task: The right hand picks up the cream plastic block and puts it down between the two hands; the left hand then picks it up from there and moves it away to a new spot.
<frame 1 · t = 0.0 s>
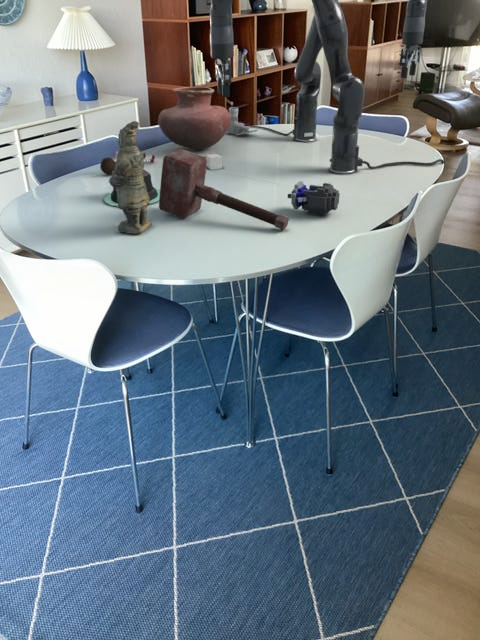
left hand: (407, 76, 218), 29 cm above the table, tool pointing down, fingers open, 8 cm apart
right hand: (223, 95, 187), 29 cm above the table, tool pointing down, fingers open, 8 cm apart
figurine: (128, 169, 219), on the table
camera: (240, 134, 268), on the table
statue: (134, 229, 162), on the table
toy: (312, 213, 171), on the table
sledgehammer: (224, 220, 166), on the table
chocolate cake: (134, 197, 187), on the table
block: (214, 167, 218), on the table
clay pot: (196, 149, 244), on the table
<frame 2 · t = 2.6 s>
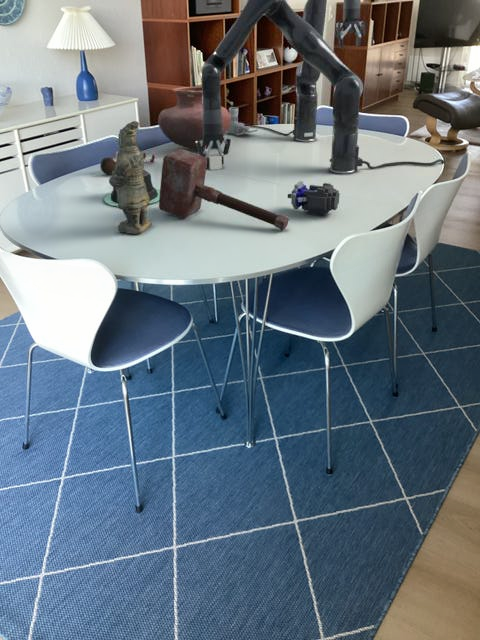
left hand: (349, 47, 259), 36 cm above the table, tool pointing down, fingers open, 8 cm apart
right hand: (214, 166, 218), 0 cm above the table, tool pointing down, fingers closed on block, 4 cm apart
block: (214, 167, 218), on the table, touching right hand
everything else where it was.
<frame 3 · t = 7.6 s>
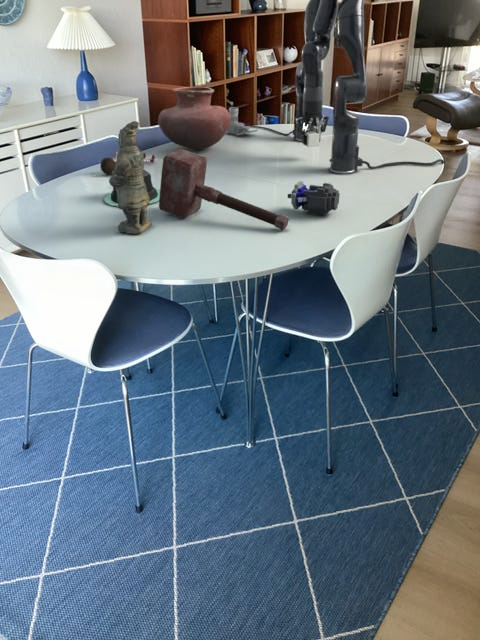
left hand: (347, 47, 260), 36 cm above the table, tool pointing down, fingers open, 8 cm apart
right hand: (310, 143, 222), 6 cm above the table, tool pointing down, fingers closed on block, 4 cm apart
block: (310, 145, 222), point 6 cm above the table, touching right hand
everything else where it was.
when the right hand's fingers open (1 cm above the table, at t = 12.8 s): block stays where it is, on the table.
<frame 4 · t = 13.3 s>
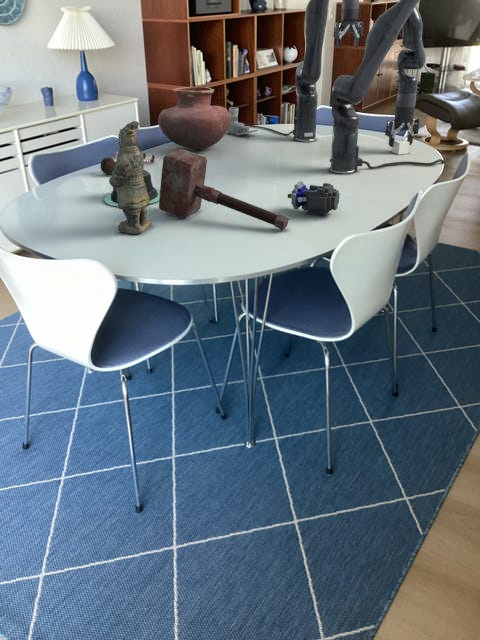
left hand: (347, 47, 260), 36 cm above the table, tool pointing down, fingers open, 8 cm apart
right hand: (400, 145, 231), 3 cm above the table, tool pointing down, fingers open, 8 cm apart
block: (399, 152, 232), on the table
everything else where it was.
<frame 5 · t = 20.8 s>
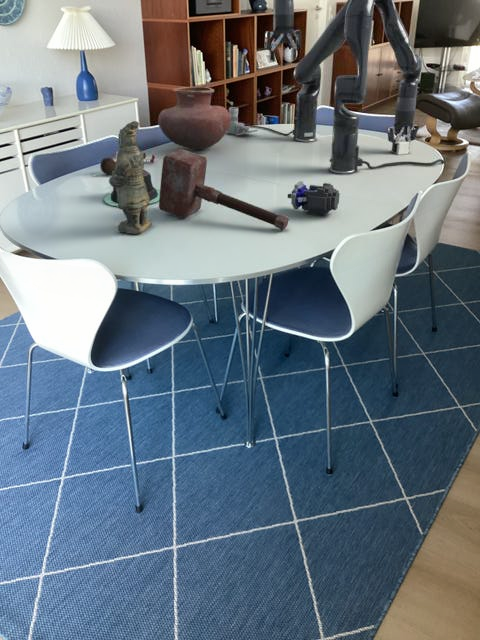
left hand: (400, 151, 232), 0 cm above the table, tool pointing down, fingers closed on block, 4 cm apart
right hand: (282, 60, 214), 36 cm above the table, tool pointing down, fingers open, 8 cm apart
block: (399, 152, 232), on the table, touching left hand
everything else where it was.
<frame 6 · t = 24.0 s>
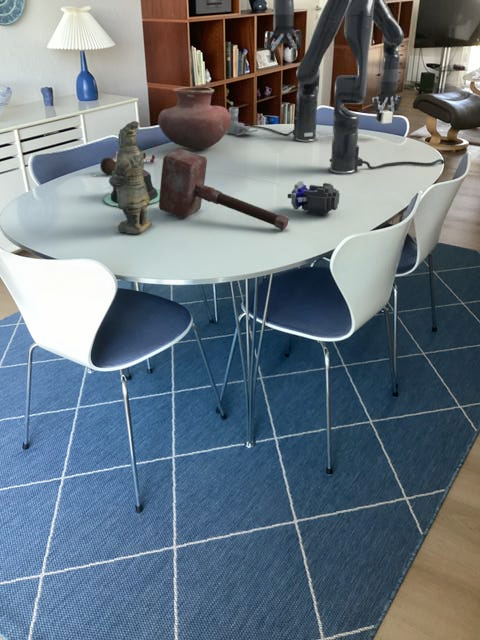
left hand: (384, 121, 247), 9 cm above the table, tool pointing down, fingers closed on block, 4 cm apart
right hand: (282, 60, 214), 36 cm above the table, tool pointing down, fingers open, 8 cm apart
block: (384, 122, 247), point 8 cm above the table, touching left hand
everything else where it was.
when the left hand's fingers open (1 cm above the table, at t = 27.2 s): block stays where it is, on the table.
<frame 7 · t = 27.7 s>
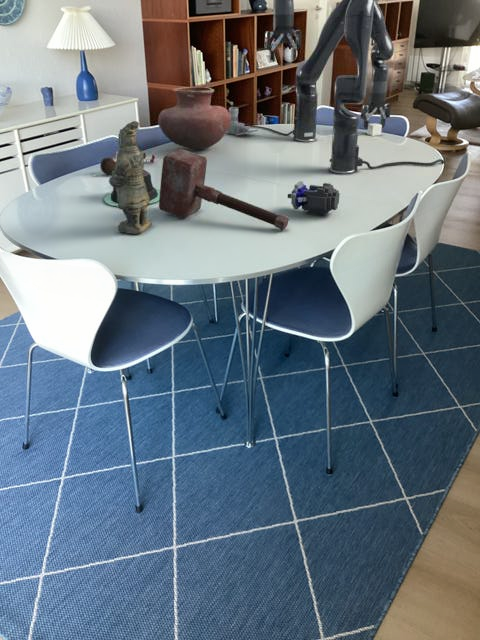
left hand: (374, 128, 261), 3 cm above the table, tool pointing down, fingers open, 8 cm apart
right hand: (282, 60, 214), 36 cm above the table, tool pointing down, fingers open, 8 cm apart
block: (373, 134, 263), on the table
everything else where it was.
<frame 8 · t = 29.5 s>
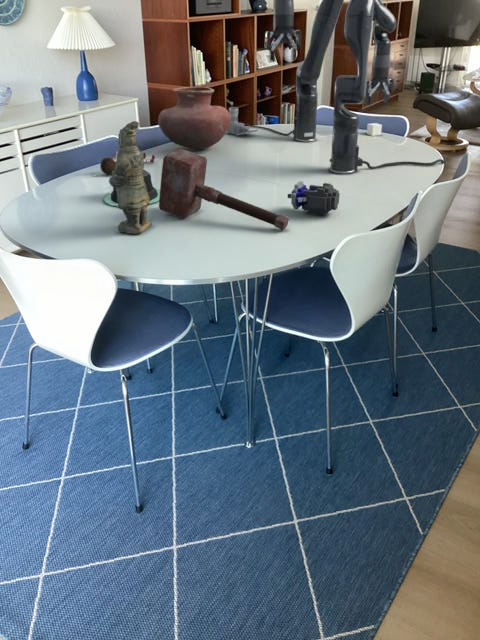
left hand: (377, 104, 256), 14 cm above the table, tool pointing down, fingers open, 8 cm apart
right hand: (282, 60, 214), 36 cm above the table, tool pointing down, fingers open, 8 cm apart
nothing on the table moved.
at the end: block inside the target area (0.1 cm from its centre), on the table; block tilted 0°; the two hands never held the block at the same time; the left hand is holding nothing; the right hand is holding nothing; block at rest at the end (0.0 cm/s) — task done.
